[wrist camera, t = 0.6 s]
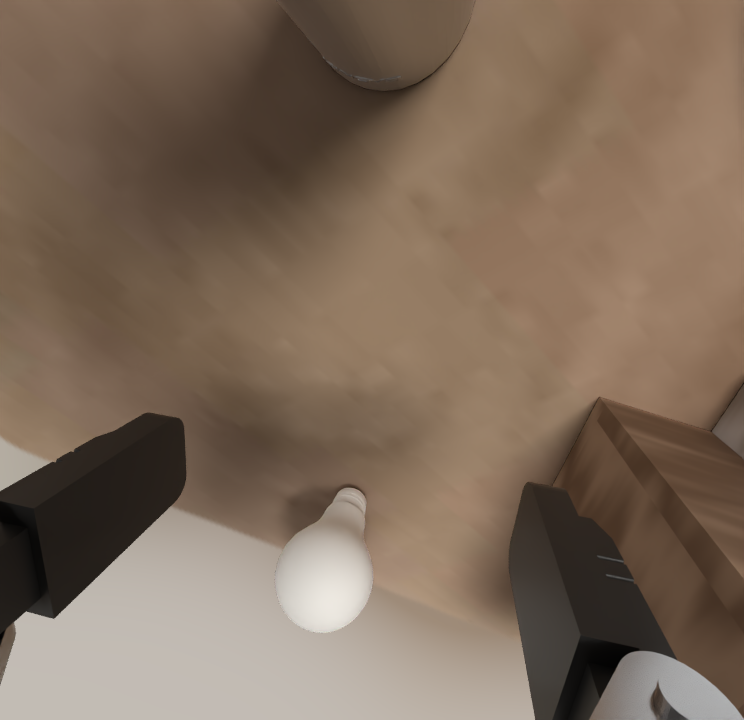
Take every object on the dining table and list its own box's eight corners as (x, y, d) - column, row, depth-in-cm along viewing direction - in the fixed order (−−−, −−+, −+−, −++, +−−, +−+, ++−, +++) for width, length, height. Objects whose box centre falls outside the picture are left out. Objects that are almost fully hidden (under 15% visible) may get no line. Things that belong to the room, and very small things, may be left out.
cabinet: (635, 329, 25) (993, 557, 8) (820, 384, 24) (1631, 760, 8) (527, 532, 31) (610, 895, 15) (671, 582, 30) (936, 1029, 14)
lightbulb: (302, 480, 34) (236, 596, 23) (361, 449, 32) (318, 561, 21) (345, 535, 35) (300, 669, 25) (405, 508, 33) (383, 642, 22)
